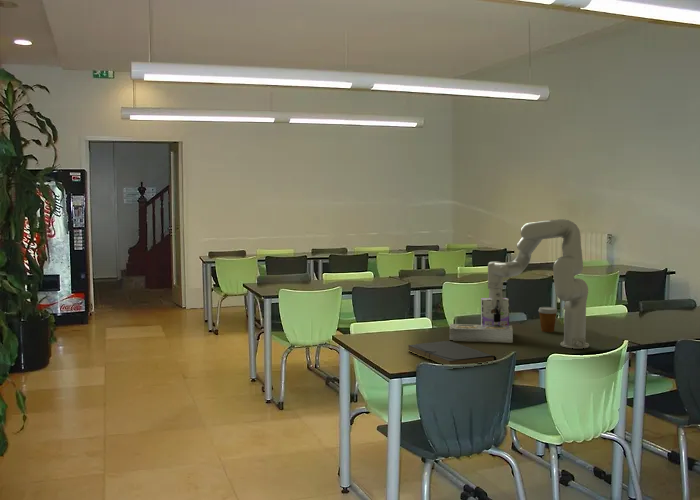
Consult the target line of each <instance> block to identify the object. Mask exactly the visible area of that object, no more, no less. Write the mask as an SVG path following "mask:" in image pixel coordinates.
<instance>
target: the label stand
mask: <svg viewBox="0 0 700 500" xmlns="http://www.w3.org/2000/svg"><path fill="white" fill-rule="evenodd" d="M448 329H449V338H448V339H449V340H453V341H452V342H478V343H483V342H484V343H509V344H510V343H514V341H513V339H514V338H513V337H514V336H513V335H514V333H513V332H514V331H513V325H510V324H509V325H481V324H466V323H465V324H464V323H463V324H461V323H450V325H449V328H448ZM449 340H448V341H449Z"/></svg>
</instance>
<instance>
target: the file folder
mask: <svg viewBox="0 0 700 500" xmlns="http://www.w3.org/2000/svg"><path fill="white" fill-rule="evenodd" d="M408 350H410V351H412V352H415V353H417V354H420V355H423V356H427V357H429V358H431V359H434V360H438V361H441V362H443V363H445V364H467V363H478V362H486V361H492V360H496V361H497V357H496V356H495V355H494V354H491V353H487V352H483V351H480V350H478V349H475V348H472V347H469V346H465V345H463V344H460V343H457V342H455V341H449V340H443V341H435V342H424V343H416V344H408Z"/></svg>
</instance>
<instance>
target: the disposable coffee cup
mask: <svg viewBox="0 0 700 500" xmlns="http://www.w3.org/2000/svg"><path fill="white" fill-rule="evenodd" d="M537 311H538V315H539V321H540V322H539V323H540V331H541V332H543V333H553V332H555V328H556V319H557V313H558V309H557V308H556V307H552V306H541V307H539V308H538V310H537Z"/></svg>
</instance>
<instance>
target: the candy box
mask: <svg viewBox="0 0 700 500" xmlns="http://www.w3.org/2000/svg"><path fill="white" fill-rule="evenodd" d="M500 307H501V306H500ZM496 308H497V307H496ZM496 310H497V309H496ZM500 313H501V314H500V322H494V314H495V312H494V308H493V306H492V299H490V298H489V297H481V298H480V325H509V326H510V299H509V298H508V297H503V308H501V311H500Z"/></svg>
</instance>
